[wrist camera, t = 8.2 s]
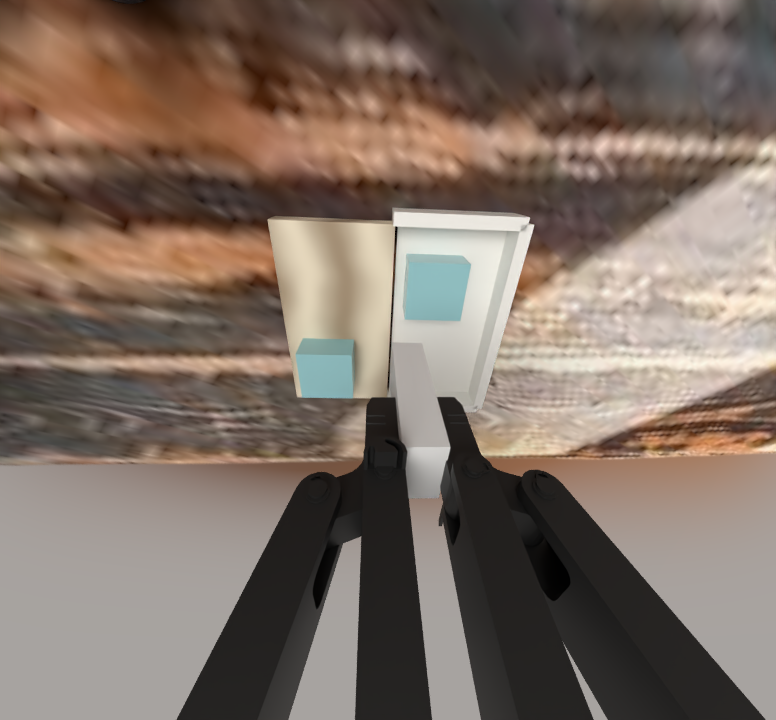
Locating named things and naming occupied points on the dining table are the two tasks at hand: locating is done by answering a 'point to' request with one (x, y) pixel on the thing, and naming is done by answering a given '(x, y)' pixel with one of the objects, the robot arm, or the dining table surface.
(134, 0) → the travel mug
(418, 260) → the tile
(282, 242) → the board
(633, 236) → the dining table surface
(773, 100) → the dining table surface
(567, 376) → the dining table surface
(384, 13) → the dining table surface
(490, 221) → the tray
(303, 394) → the tile
